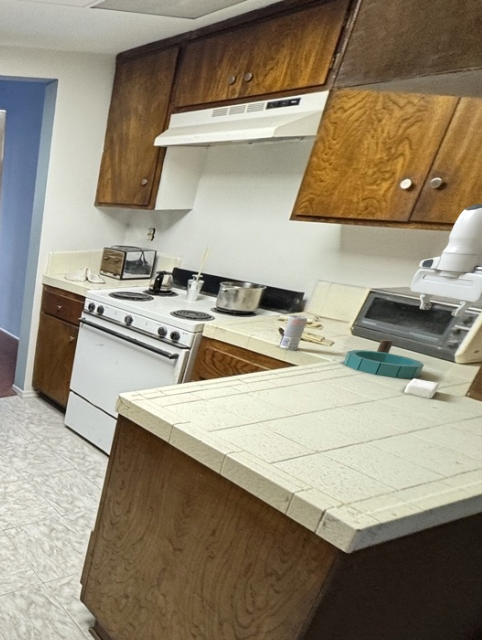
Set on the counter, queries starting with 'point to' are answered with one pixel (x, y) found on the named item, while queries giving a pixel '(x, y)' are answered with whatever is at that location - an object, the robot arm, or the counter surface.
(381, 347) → the peg stand
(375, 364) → the ring
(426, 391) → the soap
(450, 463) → the counter surface
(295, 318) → the energy drink
